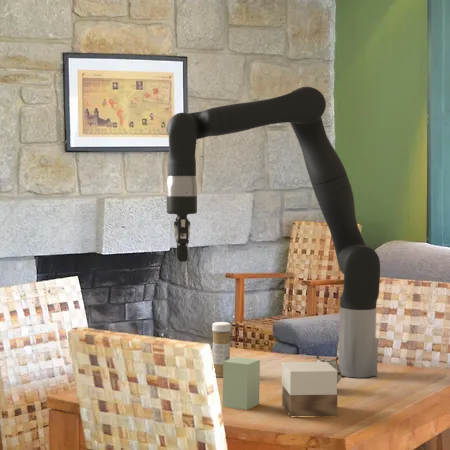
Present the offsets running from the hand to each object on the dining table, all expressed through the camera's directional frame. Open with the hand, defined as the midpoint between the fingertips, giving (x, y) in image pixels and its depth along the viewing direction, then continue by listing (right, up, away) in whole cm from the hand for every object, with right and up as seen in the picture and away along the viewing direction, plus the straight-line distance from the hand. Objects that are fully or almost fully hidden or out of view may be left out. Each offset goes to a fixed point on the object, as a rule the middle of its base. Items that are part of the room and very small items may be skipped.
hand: (182, 260), depth 238 cm
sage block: (+14, -31, -26) cm, 43 cm away
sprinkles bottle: (+9, -30, +4) cm, 31 cm away
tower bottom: (+29, -32, -30) cm, 52 cm away
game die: (+34, -31, -10) cm, 47 cm away
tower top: (+29, -27, -30) cm, 49 cm away
